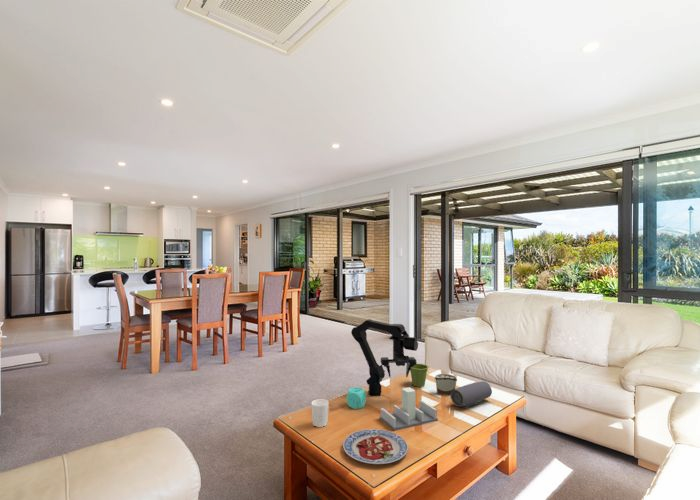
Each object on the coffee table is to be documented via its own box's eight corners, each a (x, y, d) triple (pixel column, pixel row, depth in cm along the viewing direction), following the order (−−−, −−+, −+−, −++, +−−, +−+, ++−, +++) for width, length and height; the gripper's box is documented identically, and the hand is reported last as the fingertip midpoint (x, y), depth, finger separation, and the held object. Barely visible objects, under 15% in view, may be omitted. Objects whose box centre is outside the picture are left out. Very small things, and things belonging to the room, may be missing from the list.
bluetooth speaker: (478, 396, 197) (478, 378, 197) (492, 402, 189) (492, 383, 190) (449, 405, 185) (449, 385, 185) (464, 411, 177) (464, 391, 177)
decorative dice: (346, 407, 182) (346, 391, 182) (351, 401, 189) (352, 386, 189) (361, 409, 179) (361, 393, 179) (366, 403, 187) (366, 388, 187)
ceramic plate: (334, 440, 150) (334, 433, 150) (388, 429, 159) (388, 423, 159) (358, 475, 126) (358, 467, 126) (420, 460, 135) (420, 452, 135)
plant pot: (432, 384, 214) (432, 366, 214) (421, 390, 205) (421, 370, 206) (415, 380, 222) (415, 362, 222) (404, 385, 214) (404, 366, 214)
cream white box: (407, 420, 166) (407, 392, 166) (401, 416, 170) (401, 388, 170) (415, 418, 167) (415, 390, 168) (409, 414, 172) (409, 387, 172)
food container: (455, 391, 204) (455, 374, 204) (457, 395, 198) (457, 377, 198) (433, 390, 205) (433, 373, 205) (434, 394, 199) (434, 376, 199)
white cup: (331, 422, 166) (331, 400, 166) (324, 429, 158) (324, 407, 159) (315, 419, 168) (315, 398, 169) (308, 426, 161) (308, 404, 161)
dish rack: (379, 418, 170) (379, 407, 170) (421, 409, 180) (421, 399, 180) (393, 430, 158) (394, 419, 158) (437, 420, 168) (437, 409, 168)
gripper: (383, 352, 184) (383, 382, 184) (418, 352, 185) (418, 382, 185) (380, 346, 195) (380, 375, 195) (414, 346, 196) (414, 375, 196)
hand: (398, 377), depth 192 cm, fingers open, 9 cm apart
